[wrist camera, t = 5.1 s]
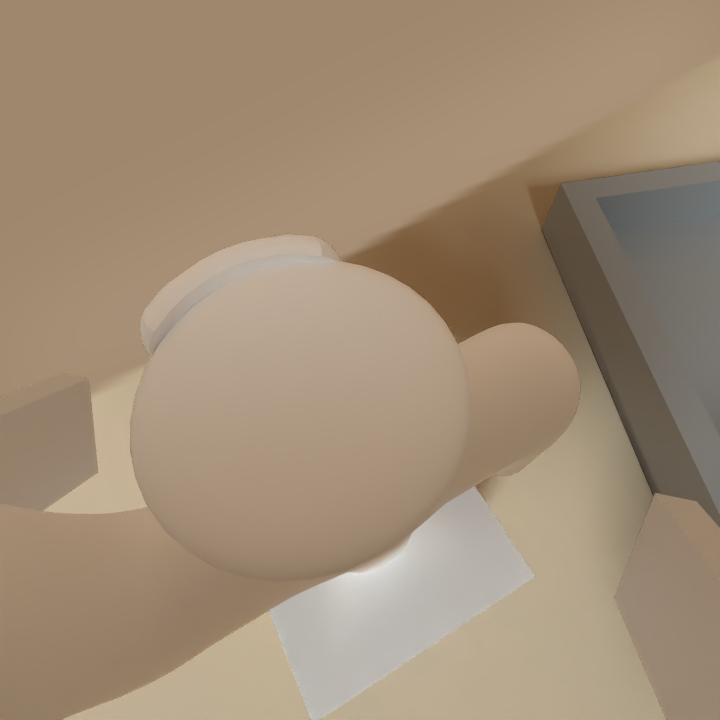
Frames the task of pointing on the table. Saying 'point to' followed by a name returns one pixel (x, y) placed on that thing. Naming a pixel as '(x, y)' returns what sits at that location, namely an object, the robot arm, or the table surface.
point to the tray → (652, 312)
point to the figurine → (286, 486)
